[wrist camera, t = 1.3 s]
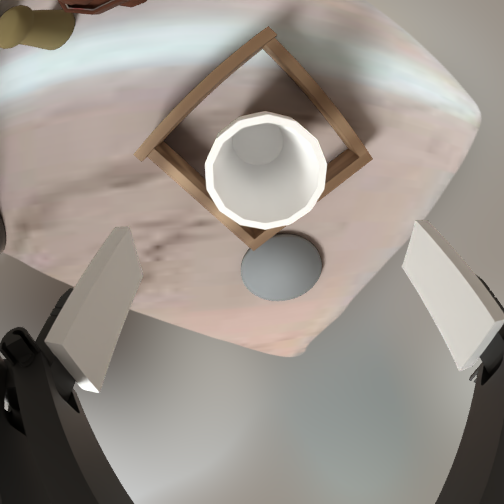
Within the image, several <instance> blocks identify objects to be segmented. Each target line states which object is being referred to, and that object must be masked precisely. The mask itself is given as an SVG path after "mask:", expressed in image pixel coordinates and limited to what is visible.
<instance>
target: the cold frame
mask: <svg viewBox="0 0 504 504" xmlns="http://www.w3.org/2000/svg"><path fill="white" fill-rule="evenodd" d="M276 36H277V34H276V33H275V32H274V31H273V30H272V29H271V28H270V27H269V26H268V27H267V28H265V29H264V30H262V31H261V32H260V33H258V34H257V35H256V36H254V37H253V38H252V39H251V40H249V41H248V42H247V43H245V44H244V45H243V46H242V47H240V48H239V49H238V50H237V51H236V52H234V53H233V54H232V55H231V56H230V57H228V58H227V59H226V60H225V61H224V62H222V63H221V64H220V65H219V66H218V67H217V68H216V69H215V70H213V71H212V72H211V73H210V74H209V75H208V76H207V77H206V78H205V79H204V80H202V81H201V82H200V83H199V84H198V85H197V86H196V87H195V88H194V89H193V90H192V91H191V92H190V93H189V94H188V95H187V96H186V97H185V98H184V99H183V100H182V101H181V102H180V103H179V104H178V105H177V106H176V107H175V108H174V109H173V110H172V111H171V112H170V113H169V114H168V116H167V117H166V118H165V119H164V120H163V121H162V122H161V123H160V124H159V125H158V126H157V128H156V129H155V130H154V131H153V132H152V133H151V134H150V136H149V137H148V138H147V139H146V140H145V141H144V143H143V144H142V145H141V146H140V147H139V149H138V150H137V151H136V152H135V153H134V156H136V157H137V158H138V159H139V160H140V161H141V162H142V161H143V160H144V159H145V158H146V157H148V158H149V159H151V160H152V161H153V162H154V163H155V164H156V165H157V166H158V167H160V168H161V169H162V170H163V171H164V172H165V173H166V174H167V175H169V176H170V177H171V178H172V179H173V180H174V181H175V182H176V183H178V184H179V185H180V186H181V187H182V188H183V189H184V190H185V191H187V192H188V193H189V194H190V195H191V196H192V197H193V198H194V199H196V200H197V201H198V202H199V203H200V204H201V205H202V206H203V207H205V208H206V209H207V210H208V211H209V212H210V213H211V214H212V215H214V216H215V217H216V218H217V219H218V220H219V221H220V222H221V223H223V224H224V225H225V226H226V227H227V228H228V229H229V230H230V231H232V232H233V233H234V234H235V235H236V236H237V237H238V238H239V239H241V240H242V241H243V242H244V243H245V244H246V245H247V246H248V247H250V248H251V249H252V250H253V251H254V250H256V249H257V248H258V247H260V246H261V245H262V244H264V243H265V242H266V241H267V240H269V239H270V238H271V237H273V236H274V235H275V234H276V233H278V232H279V231H280V230H282V229H283V228H284V227H286V226H287V225H285V226H281V227H276V228H271V229H266V230H264V229H259V228H254V227H248V226H243V225H240V224H238V223H237V222H235V221H234V220H232V219H231V218H229V217H228V216H226V215H225V214H223V213H222V212H220V211H219V210H218V208H217V206H216V205H215V203H214V201H213V200H212V198H211V196H210V195H209V193H208V191H207V189H206V179H205V178H203V177H202V176H201V175H200V174H199V173H198V172H197V171H196V170H195V169H194V168H193V167H191V166H190V165H189V164H188V163H187V162H186V161H185V160H184V159H183V158H182V157H181V156H179V155H178V154H177V153H176V152H175V151H174V150H173V149H172V148H171V147H169V146H168V145H167V144H166V143H165V142H164V139H165V138H166V137H167V136H168V135H169V134H170V133H171V132H172V131H173V130H174V129H175V128H176V127H177V126H178V125H179V124H180V122H181V121H182V120H183V119H184V118H185V117H186V116H187V115H188V114H189V113H190V112H191V111H192V110H193V109H194V108H195V107H196V106H197V105H198V104H200V103H201V102H202V101H203V100H204V99H205V98H206V97H207V96H208V95H209V94H210V93H211V92H212V91H213V90H214V89H216V88H217V87H218V86H219V85H220V84H221V83H222V82H223V81H224V80H226V79H227V78H228V77H229V76H230V75H231V74H232V73H234V72H235V71H236V70H237V69H238V68H240V67H241V66H242V65H243V64H244V63H246V62H247V61H248V60H249V59H250V58H252V57H253V56H254V55H255V54H257V53H258V52H259V51H261V50H262V49H263V50H264V51H265V52H266V53H267V54H268V55H269V56H270V57H271V58H272V59H273V60H274V61H275V62H276V63H277V64H278V65H279V66H280V67H281V68H282V69H283V70H284V71H285V72H286V73H287V74H288V75H289V76H290V78H291V79H292V80H293V81H294V82H295V83H296V84H297V85H298V86H299V88H300V89H301V90H302V91H303V92H304V93H305V94H306V96H307V97H308V98H309V99H310V100H311V101H312V103H313V104H314V105H315V106H316V107H317V109H318V110H319V111H320V112H321V114H322V115H323V116H324V117H325V119H326V120H327V121H328V122H329V124H330V125H331V126H332V127H333V129H334V130H335V131H336V133H337V134H338V135H339V137H340V138H341V139H342V141H343V142H344V143H345V145H346V146H347V147H348V149H347V150H345V151H344V152H343V153H341V154H340V155H339V156H338V157H336V158H335V159H334V160H332V161H331V162H330V163H329V164H327V170H326V179H325V188H324V191H323V192H322V194H321V195H320V197H319V199H318V200H317V202H318V201H319V200H321V199H322V198H323V197H324V196H326V195H327V194H328V193H330V192H331V191H332V190H333V189H335V188H336V187H337V186H339V185H340V184H341V183H343V182H344V181H345V180H346V179H348V178H349V177H350V176H352V175H353V174H354V173H355V172H357V171H358V170H359V169H361V168H362V167H363V166H365V165H366V164H367V163H368V162H370V161H371V160H372V159H373V158H372V157H371V155H370V154H369V152H368V151H367V149H366V148H365V146H364V145H363V143H362V142H361V140H360V139H359V138H358V136H357V135H356V133H355V132H354V130H353V129H352V128H351V126H350V125H349V124H348V122H347V121H346V120H345V118H344V117H343V115H342V114H341V113H340V112H339V110H338V109H337V108H336V106H335V105H334V104H333V102H332V101H331V100H330V99H329V97H328V96H327V95H326V94H325V93H324V91H323V90H322V89H321V88H320V86H319V85H318V84H317V83H316V82H315V81H314V79H313V78H312V77H311V76H310V75H309V74H308V72H307V71H306V70H305V69H304V68H303V67H302V66H301V65H300V64H299V62H298V61H297V60H296V59H295V58H294V57H293V56H292V55H291V54H290V53H289V52H288V51H287V50H286V49H285V48H284V47H283V46H282V44H281V43H280V42H279V41H278V40H277V39H276V38H275V37H276ZM317 202H316V203H317Z"/></svg>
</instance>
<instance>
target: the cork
mask: <svg viewBox="0 0 504 504" xmlns="http://www.w3.org/2000/svg"><path fill="white" fill-rule="evenodd" d="M74 26H75V18H74V15H73V13H67V12H65V11H64V10H33V11H32V10H31V8H29V7H28V6H23V5H19V6H15V7H12V8H11V9H9V10H7V11H6V12H5V13H4V14H3V15H2V16H1V18H0V48H3V49H7V48H12V47H15V46H17V45H18V44H22V45H28V46H33V47H38V48H42V49H47V50H55V49H57V48H59V47H61V46H62V45H63V44H65V43H66V41H67V40H68V39H69V38H70V36H71V34H72V32H73V30H74Z"/></svg>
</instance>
